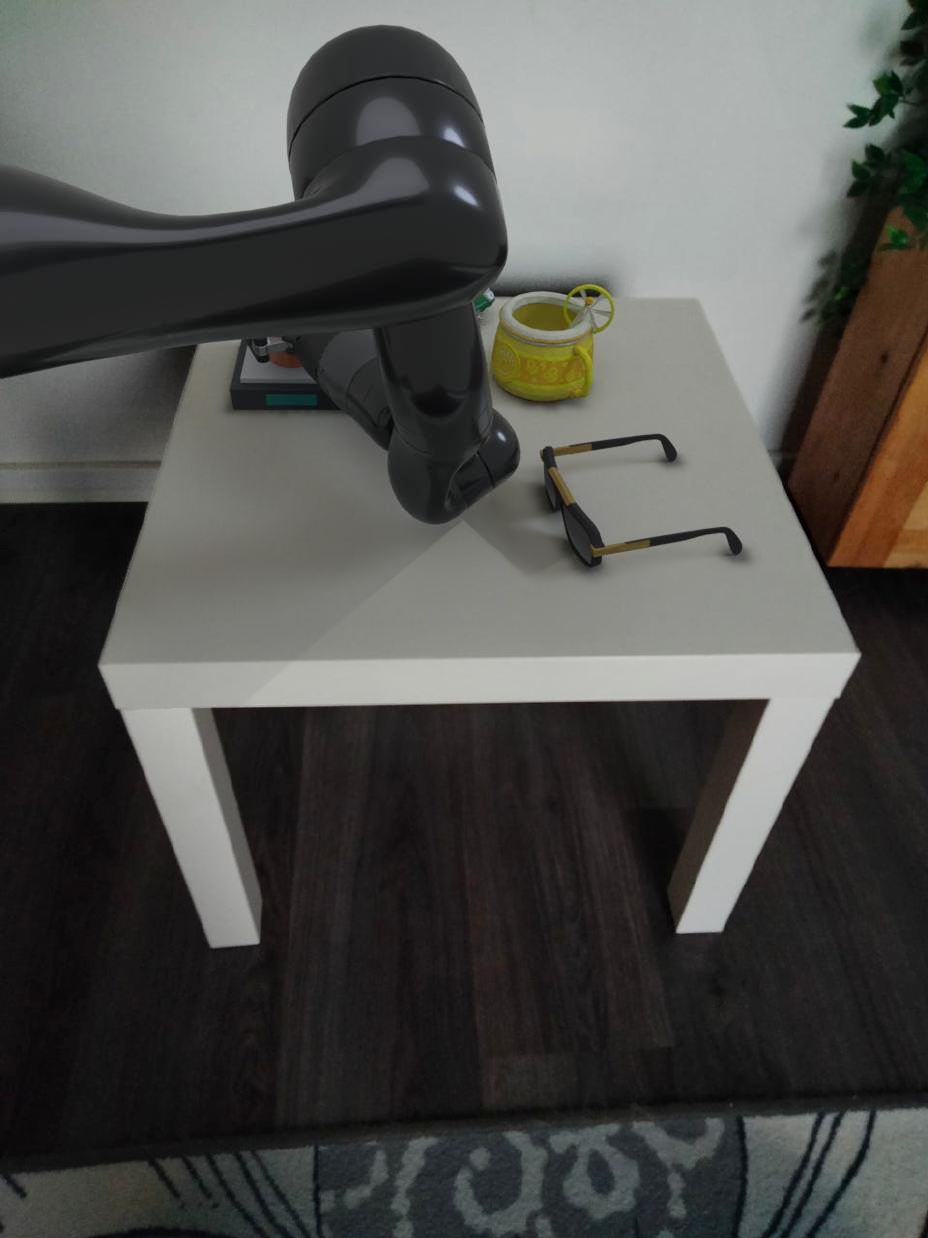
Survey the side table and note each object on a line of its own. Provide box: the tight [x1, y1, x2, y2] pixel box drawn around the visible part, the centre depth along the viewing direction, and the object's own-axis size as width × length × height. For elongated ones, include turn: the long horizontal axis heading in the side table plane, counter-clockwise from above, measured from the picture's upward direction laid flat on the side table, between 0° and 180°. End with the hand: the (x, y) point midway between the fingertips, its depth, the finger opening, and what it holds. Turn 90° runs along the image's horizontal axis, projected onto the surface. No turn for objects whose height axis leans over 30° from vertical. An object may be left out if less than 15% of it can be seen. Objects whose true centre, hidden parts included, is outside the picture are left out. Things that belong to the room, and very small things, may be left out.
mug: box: [490, 283, 616, 402], centre depth 91 cm, size 13×11×12 cm
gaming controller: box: [474, 288, 496, 316], centre depth 103 cm, size 9×4×6 cm
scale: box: [229, 339, 342, 411], centre depth 94 cm, size 12×12×3 cm
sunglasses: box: [539, 433, 743, 568], centre depth 80 cm, size 14×15×5 cm
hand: (279, 287), depth 90 cm, fingers closed on cup, 6 cm apart
